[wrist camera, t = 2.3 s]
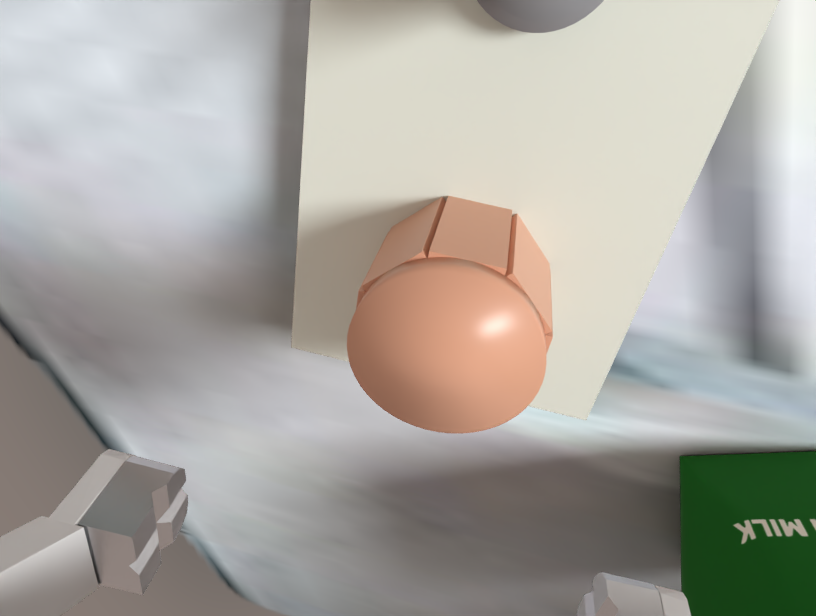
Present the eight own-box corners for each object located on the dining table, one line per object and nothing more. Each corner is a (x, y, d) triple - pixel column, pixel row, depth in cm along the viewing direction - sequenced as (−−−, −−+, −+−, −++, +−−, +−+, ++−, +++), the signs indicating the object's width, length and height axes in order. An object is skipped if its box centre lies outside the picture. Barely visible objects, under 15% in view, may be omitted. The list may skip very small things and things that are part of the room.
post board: (582, 387, 24) (599, 556, 18) (307, 320, 25) (224, 457, 18) (869, -269, 13) (1206, -477, 6) (356, -350, 14) (193, -610, 7)
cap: (574, 302, 20) (584, 393, 16) (440, 363, 22) (419, 454, 18) (488, 168, 18) (475, 233, 14) (352, 250, 20) (307, 326, 17)
